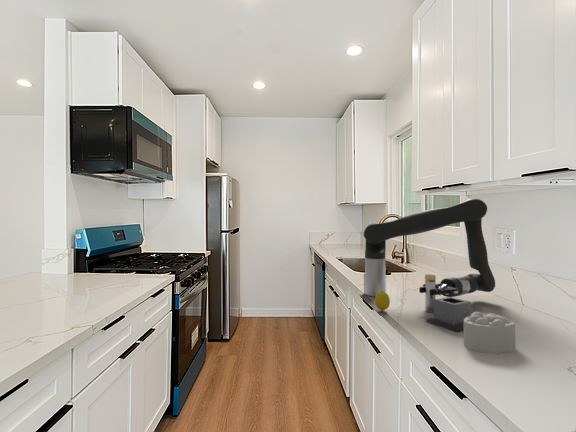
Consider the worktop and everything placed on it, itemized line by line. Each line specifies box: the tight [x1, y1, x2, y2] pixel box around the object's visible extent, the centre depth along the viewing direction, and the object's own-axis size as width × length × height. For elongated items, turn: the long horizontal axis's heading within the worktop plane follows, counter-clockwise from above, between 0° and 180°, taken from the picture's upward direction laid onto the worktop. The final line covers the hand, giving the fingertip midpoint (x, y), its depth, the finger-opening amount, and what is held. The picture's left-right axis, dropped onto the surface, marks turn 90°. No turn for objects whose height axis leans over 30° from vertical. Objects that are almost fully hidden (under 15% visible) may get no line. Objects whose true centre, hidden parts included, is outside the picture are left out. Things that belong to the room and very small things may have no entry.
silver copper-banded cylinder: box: [424, 273, 437, 314], centre depth 130 cm, size 4×4×14 cm
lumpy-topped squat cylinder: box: [463, 311, 517, 354], centre depth 96 cm, size 10×13×9 cm
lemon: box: [374, 291, 391, 312], centre depth 130 cm, size 6×6×8 cm
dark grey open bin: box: [426, 296, 472, 333], centre depth 115 cm, size 12×11×8 cm
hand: (425, 291), depth 128 cm, fingers open, 4 cm apart
